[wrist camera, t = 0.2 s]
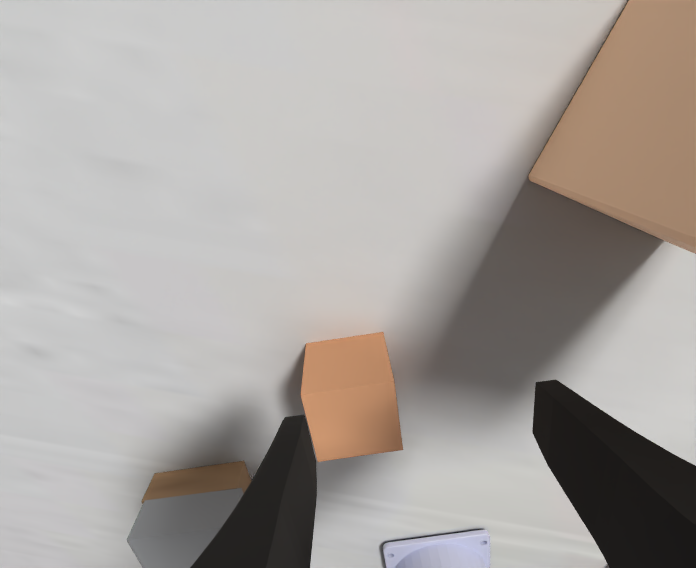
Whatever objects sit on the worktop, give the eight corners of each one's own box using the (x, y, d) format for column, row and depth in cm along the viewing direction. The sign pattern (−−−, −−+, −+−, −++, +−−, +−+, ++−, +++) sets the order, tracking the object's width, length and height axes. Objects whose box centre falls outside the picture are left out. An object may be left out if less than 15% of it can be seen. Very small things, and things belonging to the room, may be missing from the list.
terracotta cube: (391, 392, 24) (403, 449, 20) (320, 402, 24) (317, 461, 20) (382, 331, 22) (394, 381, 18) (305, 342, 22) (300, 395, 18)
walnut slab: (266, 514, 29) (261, 548, 27) (185, 526, 29) (174, 560, 27) (245, 456, 26) (237, 488, 24) (156, 468, 27) (141, 501, 24)
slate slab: (263, 548, 27) (257, 587, 25) (175, 559, 27) (161, 600, 25) (241, 487, 24) (233, 526, 22) (144, 500, 24) (126, 540, 22)
